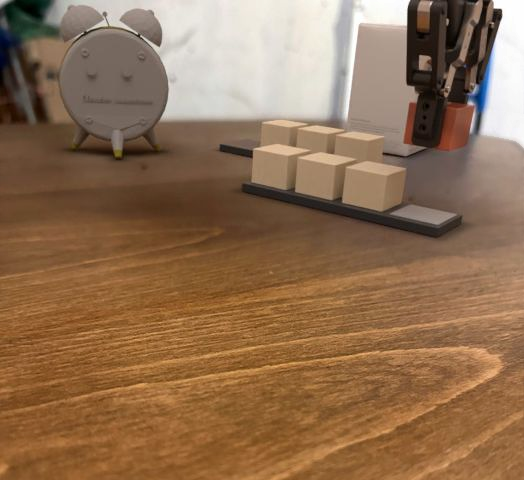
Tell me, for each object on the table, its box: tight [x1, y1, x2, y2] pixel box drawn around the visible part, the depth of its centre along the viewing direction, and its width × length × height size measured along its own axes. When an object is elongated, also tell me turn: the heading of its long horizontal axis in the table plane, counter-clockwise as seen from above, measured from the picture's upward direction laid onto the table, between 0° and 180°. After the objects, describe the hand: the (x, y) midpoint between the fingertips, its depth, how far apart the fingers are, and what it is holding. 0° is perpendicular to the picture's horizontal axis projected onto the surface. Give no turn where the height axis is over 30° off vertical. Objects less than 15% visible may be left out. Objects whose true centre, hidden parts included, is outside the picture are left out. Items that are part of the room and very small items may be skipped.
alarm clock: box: [58, 4, 170, 160], centre depth 73 cm, size 12×7×15 cm, turn 102°
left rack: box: [219, 119, 385, 164], centre depth 78 cm, size 6×20×4 cm, turn 55°
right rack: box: [241, 144, 464, 238], centre depth 61 cm, size 6×20×4 cm, turn 55°
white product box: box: [345, 22, 427, 157], centre depth 87 cm, size 9×9×15 cm
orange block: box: [403, 101, 476, 152], centre depth 54 cm, size 4×4×3 cm
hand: (436, 141), depth 55 cm, fingers closed on orange block, 4 cm apart
